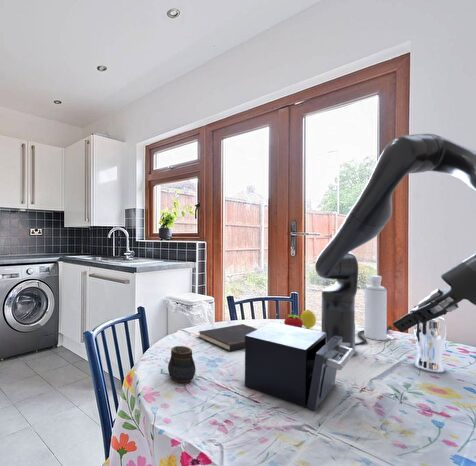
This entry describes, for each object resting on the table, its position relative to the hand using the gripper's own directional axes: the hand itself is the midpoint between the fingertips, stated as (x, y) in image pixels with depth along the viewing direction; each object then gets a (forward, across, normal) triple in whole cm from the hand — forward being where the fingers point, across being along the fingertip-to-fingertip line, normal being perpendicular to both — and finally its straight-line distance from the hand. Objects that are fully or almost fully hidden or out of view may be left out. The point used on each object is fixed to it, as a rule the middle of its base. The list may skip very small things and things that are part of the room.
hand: (396, 327), depth 66 cm
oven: (+29, 0, -2) cm, 29 cm away
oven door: (+22, 0, +5) cm, 23 cm away
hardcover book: (+47, -24, -19) cm, 56 cm away
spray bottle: (+22, -65, +6) cm, 69 cm away
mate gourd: (+44, +18, -16) cm, 50 cm away
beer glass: (+11, -41, +17) cm, 46 cm away
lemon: (+37, -58, -9) cm, 69 cm away
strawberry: (+38, -42, -9) cm, 57 cm away
